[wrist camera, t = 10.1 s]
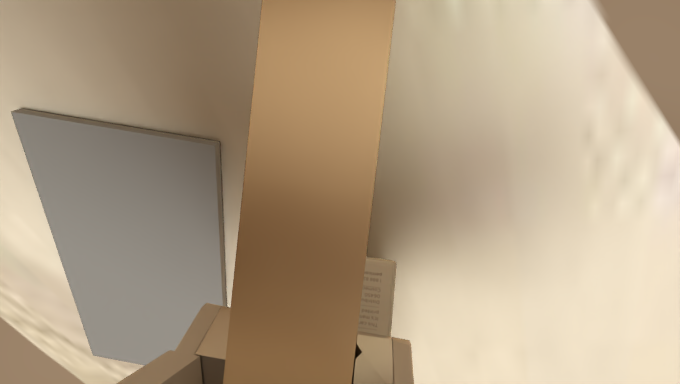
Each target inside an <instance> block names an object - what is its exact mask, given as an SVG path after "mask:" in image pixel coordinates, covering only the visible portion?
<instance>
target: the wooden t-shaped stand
mask: <svg viewBox="0 0 680 384" xmlns="http://www.w3.org/2000/svg"><path fill="white" fill-rule="evenodd" d="M395 3H396V0H262V8H261V18H260V27H259V37H258V47H257V57H256V66H255V76H254V86H253V96H252V105H251V115H250V125H249V134H248V144H247V154H246V164H245V173H244V183H243V193H242V203H241V212H240V222H239V232H238V242H237V251H236V261H235V271H234V281H233V290H232V300H231V310H230V320H229V329H228V339H227V349H226V359H225V368H224V378H223V384H351V383H352V375H353V366H354V357H355V349H356V340H357V331H358V323H359V314H360V305H361V297H362V288H363V280H364V271H365V262H366V254H367V245H368V236H369V228H370V219H371V210H372V202H373V193H374V184H375V176H376V167H377V159H378V150H379V141H380V133H381V124H382V115H383V107H384V98H385V89H386V81H387V72H388V63H389V55H390V46H391V38H392V29H393V20H394V12H395Z"/></svg>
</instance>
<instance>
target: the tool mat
mask: <svg viewBox="0 0 680 384" xmlns="http://www.w3.org/2000/svg"><path fill="white" fill-rule="evenodd" d="M11 113H12V116H13V119H14V122H15V125H16V128H17V131H18V134H19V137H20V140H21V143H22V146H23V149H24V152H25V155H26V158H27V161H28V164H29V167H30V170H31V173H32V176H33V179H34V182H35V185H36V188H37V191H38V194H39V197H40V200H41V202H42V205H43V208H44V211H45V214H46V217H47V220H48V223H49V226H50V229H51V232H52V235H53V238H54V241H55V244H56V247H57V250H58V253H59V256H60V259H61V262H62V265H63V268H64V271H65V274H66V277H67V280H68V283H69V286H70V289H71V291H72V294H73V297H74V300H75V303H76V306H77V309H78V312H79V315H80V318H81V321H82V324H83V327H84V330H85V333H86V336H87V339H88V342H89V345H90V348H91V351H92V354H93V355H94V356H99V357H104V358H109V359H114V360H120V361H125V362H130V363H135V364H140V365H147V364H148V363H150V362H151V361H153V360H155V359H156V358H158V357H159V356H161V355H162V354H164V353H166V352H167V351H169V350H171V351H175V349H176V348H177V346H178V345H179V343H180V341H181V340H182V338H183V336H184V335H185V333H186V332H187V330H188V328H189V327H190V325H191V323H192V322H193V320H194V319H195V317H196V315H197V314H198V312H199V311H200V309H201V307H202V306H203V305H205V304H206V303H210V304H215V305H220V306H225V307H227V302H226V279H225V255H224V231H223V207H222V183H221V159H220V142H219V141H213V140H207V139H201V138H195V137H189V136H183V135H177V134H171V133H165V132H159V131H153V130H147V129H141V128H135V127H129V126H123V125H117V124H111V123H105V122H99V121H93V120H87V119H81V118H75V117H69V116H63V115H57V114H51V113H45V112H39V111H33V110H27V109H18V110H15V111H11Z"/></svg>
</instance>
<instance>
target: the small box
mask: <svg viewBox="0 0 680 384" xmlns="http://www.w3.org/2000/svg"><path fill="white" fill-rule="evenodd" d="M395 275H396V262H395V261H393V260H386V259H379V258H371V257H366V262H365V271H364V280H363V288H362V297H361V305H360V314H359V323H358V331H361V332H367V333H373V334H379V335H385V336H391V325H392V312H393V300H394V287H395Z"/></svg>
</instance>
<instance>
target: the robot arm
mask: <svg viewBox="0 0 680 384" xmlns="http://www.w3.org/2000/svg"><path fill="white" fill-rule="evenodd" d="M230 310H231V308H230V307H225V306H220V305H215V304H210V303H206V304H205V305H203V306H202V307H201V309H200V311H199V312H198V314H197V315H196V317H195V319H194V320H193V322H192V323H191V325H190V327H189V328H188V330H187V332H186V333H185V335H184V336H183V338H182V340H181V341H180V343H179V345H178V346H177V348H176V349H175V351H171V350H169V351H167V352H166V353H164V354H162V355H161V356H159V357H158V358H156V359H155V360H153V361H151V362H150V363H148V364H147V365H145V366H143V367H142V368H140V369H139V370H137V371H136V372H134V373H132V374H131V375H129V376H128V377H126V378H124V379H123V380H121V381H120V382H118V383H117V384H223V378H224V368H225V359H226V349H227V339H228V329H229V320H230ZM351 384H414V378H413V365H412V351H411V343H410V341H409V340H405V339H399V338H394V337H392V338H391V337H390V336H385V335H379V334H373V333H367V332H361V331H357V340H356V349H355V357H354V366H353V375H352V383H351Z"/></svg>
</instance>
